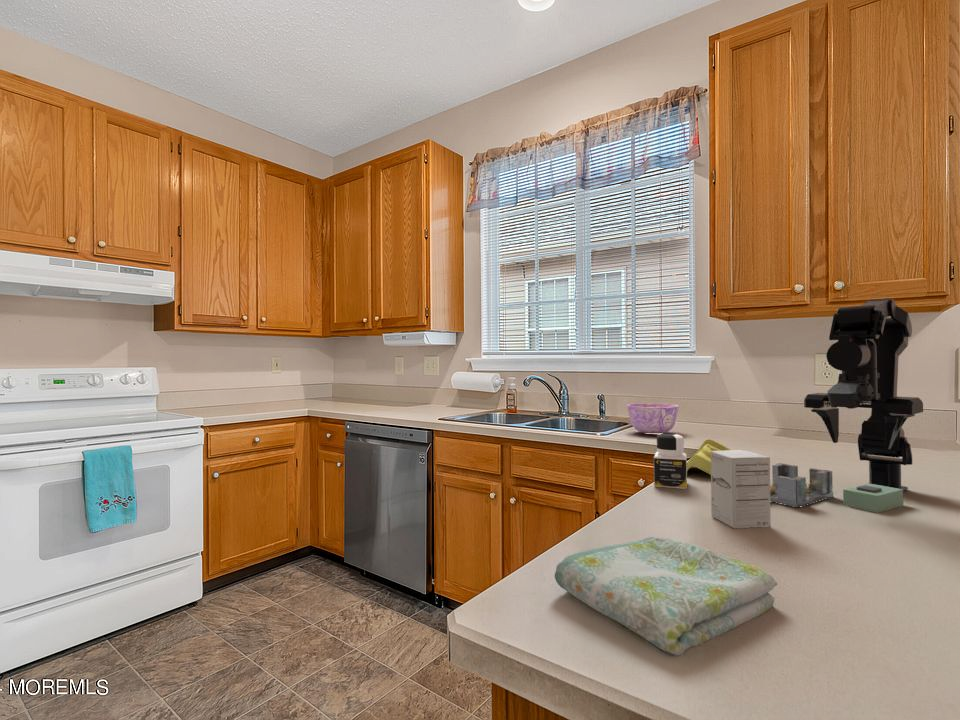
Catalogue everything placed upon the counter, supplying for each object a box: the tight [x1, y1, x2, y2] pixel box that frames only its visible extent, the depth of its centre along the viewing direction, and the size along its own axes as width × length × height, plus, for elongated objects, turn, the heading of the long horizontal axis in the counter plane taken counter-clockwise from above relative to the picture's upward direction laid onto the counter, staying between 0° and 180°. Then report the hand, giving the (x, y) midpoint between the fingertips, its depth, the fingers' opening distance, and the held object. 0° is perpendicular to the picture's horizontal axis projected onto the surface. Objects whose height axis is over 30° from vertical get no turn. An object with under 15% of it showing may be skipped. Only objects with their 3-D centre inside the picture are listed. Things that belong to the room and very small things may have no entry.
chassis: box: [770, 462, 834, 508], centre depth 112 cm, size 15×11×6 cm
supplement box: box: [710, 449, 772, 529], centre depth 95 cm, size 7×7×13 cm
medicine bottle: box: [653, 433, 688, 490], centre depth 124 cm, size 7×7×12 cm
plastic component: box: [687, 438, 731, 476], centre depth 139 cm, size 20×7×10 cm
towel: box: [554, 536, 778, 656], centre depth 65 cm, size 18×21×5 cm
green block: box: [842, 482, 904, 513], centre depth 104 cm, size 10×6×4 cm, turn 118°
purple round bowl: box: [626, 402, 680, 434], centre depth 209 cm, size 20×20×12 cm
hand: (860, 445), depth 104 cm, fingers open, 9 cm apart
